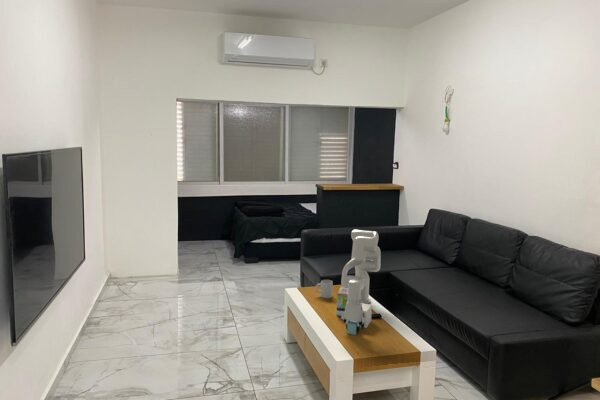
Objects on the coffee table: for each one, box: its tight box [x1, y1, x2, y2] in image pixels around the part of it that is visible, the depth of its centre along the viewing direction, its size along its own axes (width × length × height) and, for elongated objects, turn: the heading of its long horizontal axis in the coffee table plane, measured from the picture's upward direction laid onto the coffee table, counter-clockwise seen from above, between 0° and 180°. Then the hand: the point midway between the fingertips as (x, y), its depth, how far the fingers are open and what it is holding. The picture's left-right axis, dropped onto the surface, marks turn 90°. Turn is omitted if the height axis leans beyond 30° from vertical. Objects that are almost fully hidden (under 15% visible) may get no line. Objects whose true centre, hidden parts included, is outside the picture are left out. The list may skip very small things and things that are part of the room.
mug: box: [315, 279, 334, 299], centre depth 328 cm, size 12×8×11 cm
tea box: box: [335, 286, 348, 316], centre depth 299 cm, size 15×10×15 cm
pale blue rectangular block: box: [346, 319, 362, 336], centre depth 271 cm, size 12×5×6 cm, turn 157°
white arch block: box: [361, 303, 373, 329], centre depth 281 cm, size 12×10×10 cm
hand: (352, 330), depth 268 cm, fingers closed on pale blue rectangular block, 5 cm apart
